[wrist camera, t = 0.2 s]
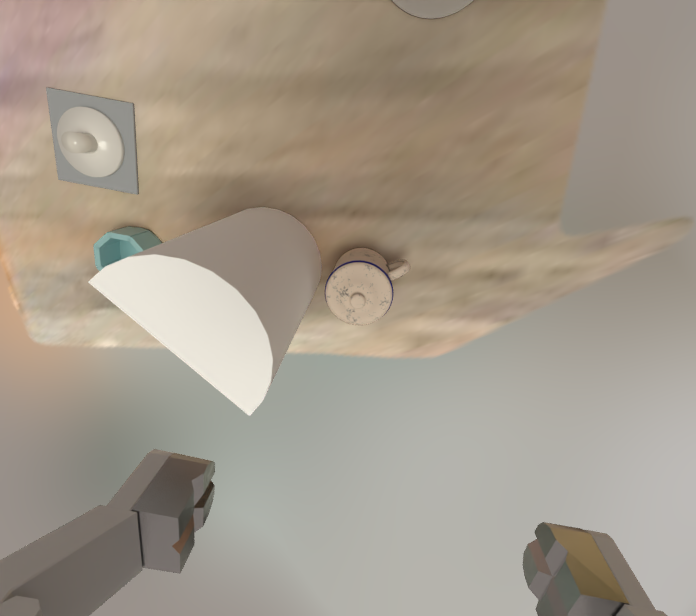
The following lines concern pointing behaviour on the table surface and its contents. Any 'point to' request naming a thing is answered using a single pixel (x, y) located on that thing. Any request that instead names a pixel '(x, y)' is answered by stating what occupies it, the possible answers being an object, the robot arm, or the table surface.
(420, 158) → the table surface
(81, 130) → the lid
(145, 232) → the cup
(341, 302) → the teacup with lid
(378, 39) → the table surface
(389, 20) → the table surface
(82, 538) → the robot arm
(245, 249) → the cylinder
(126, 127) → the mat
